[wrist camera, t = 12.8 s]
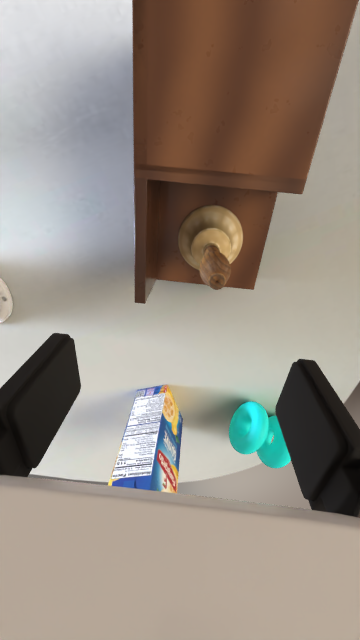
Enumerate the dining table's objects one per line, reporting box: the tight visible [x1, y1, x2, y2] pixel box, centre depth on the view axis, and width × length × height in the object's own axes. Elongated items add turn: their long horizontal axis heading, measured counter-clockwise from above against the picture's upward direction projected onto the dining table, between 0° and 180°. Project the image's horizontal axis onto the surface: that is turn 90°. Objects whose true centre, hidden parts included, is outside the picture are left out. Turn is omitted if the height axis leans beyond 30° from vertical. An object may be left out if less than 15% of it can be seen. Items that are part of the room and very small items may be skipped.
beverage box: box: [108, 385, 183, 493], centre depth 45 cm, size 7×11×22 cm, turn 17°
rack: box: [132, 0, 359, 304], centre depth 27 cm, size 15×26×13 cm, turn 175°
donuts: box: [229, 401, 291, 468], centre depth 49 cm, size 10×10×10 cm
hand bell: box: [178, 205, 243, 290], centre depth 25 cm, size 8×8×16 cm
